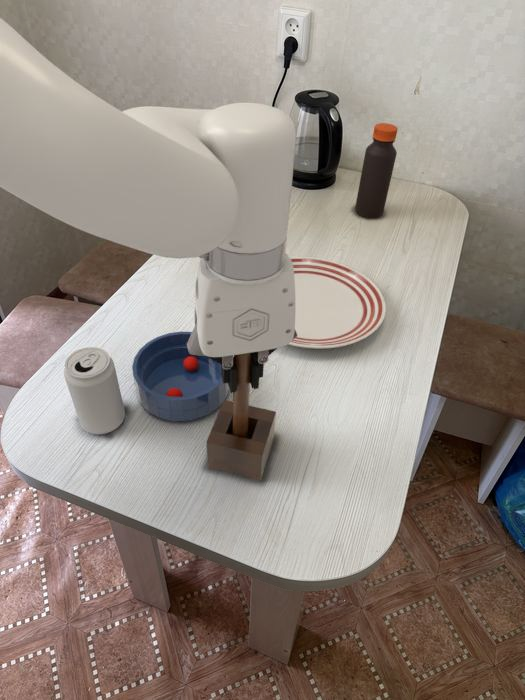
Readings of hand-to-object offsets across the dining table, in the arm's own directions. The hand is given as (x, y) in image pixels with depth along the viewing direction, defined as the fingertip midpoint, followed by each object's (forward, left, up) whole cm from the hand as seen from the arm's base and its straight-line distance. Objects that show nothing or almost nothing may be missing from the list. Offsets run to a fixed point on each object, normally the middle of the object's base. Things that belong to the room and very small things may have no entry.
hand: (241, 381), depth 60 cm
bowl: (-12, +9, -15) cm, 21 cm away
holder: (0, 0, -15) cm, 15 cm away
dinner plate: (+3, +34, -15) cm, 37 cm away
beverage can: (-21, 0, -15) cm, 26 cm away
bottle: (+10, +75, -15) cm, 77 cm away
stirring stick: (0, 0, -15) cm, 15 cm away
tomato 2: (-12, +13, -14) cm, 22 cm away
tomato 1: (-12, +6, -14) cm, 19 cm away
